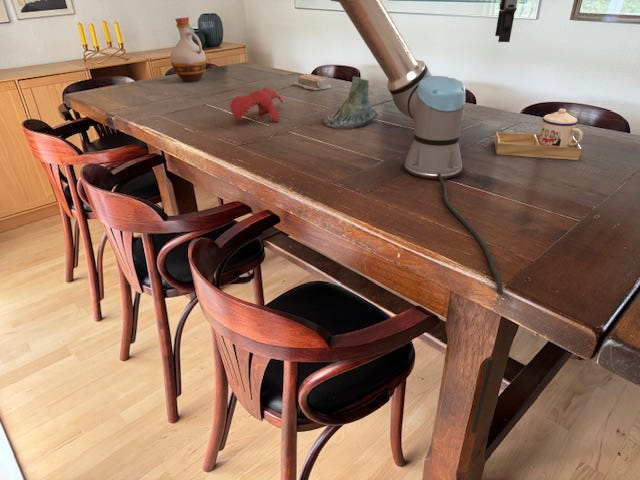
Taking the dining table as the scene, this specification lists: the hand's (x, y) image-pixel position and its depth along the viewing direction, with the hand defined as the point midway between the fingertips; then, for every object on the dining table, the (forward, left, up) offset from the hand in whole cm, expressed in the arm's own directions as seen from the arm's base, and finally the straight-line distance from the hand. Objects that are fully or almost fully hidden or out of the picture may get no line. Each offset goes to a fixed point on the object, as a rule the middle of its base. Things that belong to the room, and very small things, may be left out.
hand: (501, 39), depth 123 cm
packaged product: (+75, +77, -31) cm, 112 cm away
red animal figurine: (+15, +78, -31) cm, 85 cm away
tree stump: (+20, +46, -31) cm, 59 cm away
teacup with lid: (0, -21, -30) cm, 36 cm away
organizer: (0, -15, -31) cm, 34 cm away
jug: (+78, +143, -31) cm, 166 cm away
